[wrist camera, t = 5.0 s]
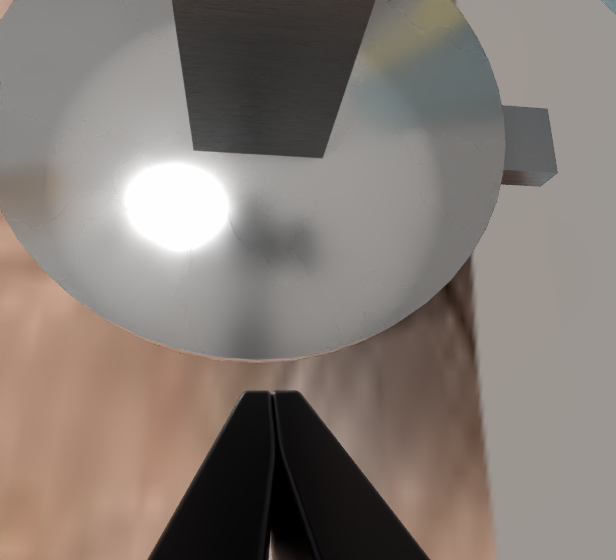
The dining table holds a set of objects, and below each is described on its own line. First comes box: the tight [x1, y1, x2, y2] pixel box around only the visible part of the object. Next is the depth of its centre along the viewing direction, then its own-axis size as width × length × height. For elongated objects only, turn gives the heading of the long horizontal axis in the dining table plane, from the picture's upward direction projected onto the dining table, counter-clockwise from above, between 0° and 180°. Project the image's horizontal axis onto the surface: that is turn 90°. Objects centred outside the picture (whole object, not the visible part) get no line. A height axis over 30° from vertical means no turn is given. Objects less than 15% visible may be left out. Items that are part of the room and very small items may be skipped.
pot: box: [501, 105, 558, 186], centre depth 17 cm, size 14×20×3 cm
